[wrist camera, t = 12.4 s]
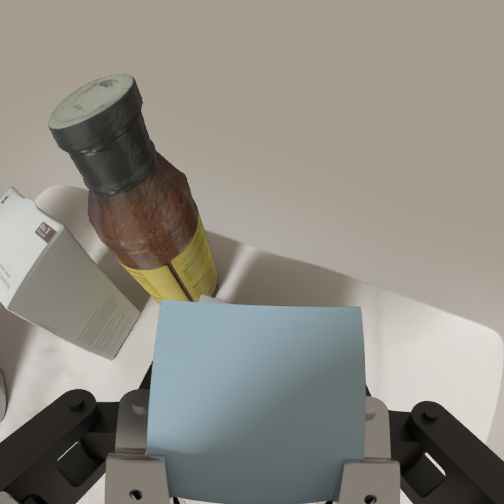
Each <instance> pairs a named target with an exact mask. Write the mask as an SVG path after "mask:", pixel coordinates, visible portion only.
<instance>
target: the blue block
mask: <svg viewBox="0 0 504 504" xmlns="http://www.w3.org/2000/svg"><path fill="white" fill-rule="evenodd" d="M365 427H366V378H365V353H364V337H363V324H362V313H361V306H360V307H300V306H261V305H237V304H218V303H202V302H188V301H175V300H163V299H162V300H161V306H160V313H159V319H158V326H157V333H156V341H155V349H154V357H153V366H152V376H151V386H150V398H149V412H148V429H147V454H165V459H166V463H167V468H168V472H169V477H170V481H171V485H172V489H173V497H178V498H184V499H190V500H197V501H204V502H213V503H223V504H304V503H315V502H323V501H331V500H333V496H332V495H333V492H334V490H335V487H336V484H337V481H338V478H339V474H340V471H341V468H342V465H343V461H344V459H364V450H365Z"/></svg>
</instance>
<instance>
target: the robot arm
mask: <svg viewBox="0 0 504 504" xmlns="http://www.w3.org/2000/svg"><path fill="white" fill-rule="evenodd" d="M152 366H153V361H152V365H150V367H149V369H148V371H147V373H146V375H145V377H144V379H143V381H142V383H141V385H140V387H139V389H137V390H133V391H130V392H128V393H126V394H125V395H124V396H123V397H122V398H121V400H120V402H96V400H95V397H94V396H93V395H92V394H91V393H90V392H88V391H86V390H82V389H75V390H70V391H68V392H66V393H64V394H63V395H62V396H60V397H59V398H58V399H56V400H55V401H54V402H52V403H51V404H50V405H49V406H47V407H46V408H45V409H43V410H42V411H41V412H40V413H38V414H37V415H36V416H34V417H33V418H32V419H30V420H29V421H28V422H27V423H25V424H24V425H23V426H21V427H20V428H19V429H17V430H16V431H15V432H14V433H12V434H11V435H10V436H8V437H7V438H6V439H5V440H3V441H2V442H1V443H0V504H76V503H77V502H78V501H79V500H80V499H81V498H82V497H83V496H84V494H85V493H86V492H87V491H88V490H89V489H90V488H91V487H92V486H93V485H94V484H95V483H96V482H97V481H98V480H99V479H100V478H101V477H102V475H103V474H104V473H105V472H106V476H105V504H186V502H185V499H184V498H178V497H173V489H172V485H171V481H170V477H169V472H168V468H167V463H166V459H165V454H147V429H148V412H149V398H150V386H151V376H152ZM5 410H6V388H5V383H4V379H3V375H2V372H1V370H0V422H1V421H2V419H3V417H4V414H5ZM76 442H78V443H77V444H75V443H76ZM74 444H75V445H74ZM73 445H74V446H73ZM72 446H73V447H72ZM71 447H72V448H71ZM69 448H71V449H70V450H69V451H68V452H67V453H66V454H65V455H63V454H64V453H65V452H66V451H67V450H68V449H69ZM426 452H427V453H428V454H429V455H430V456H431V457H432V458H433V459H434V460H435V461H436V462H437V463H438V464H439V466H440V467H441V468H442V469H443V470H444V471H445V474H446V476H445V475H443V474H442V472H441V471H440V470H439V469H438V468H437V467H436V466H435V465H434V464H433V463H432V462H431V461H430V460H429V459H428V458H427V457H426V455H425V453H426ZM62 455H63V456H62ZM61 456H62V457H61ZM60 457H61V458H60ZM59 458H60V459H59ZM58 459H59V460H58ZM57 460H58V461H57ZM400 488H401V490H402V491H403V492H404V493H405V494H406V496H407V497H408V498H409V499H410V501H411V502H412V503H413V504H504V462H503V460H501V459H500V458H499V457H498V456H497V455H496V454H495V453H494V452H493V451H492V450H490V449H489V448H488V447H487V446H486V445H485V444H484V443H483V442H482V441H480V440H479V439H478V438H477V437H476V436H475V435H474V434H473V433H472V432H470V431H469V430H468V429H467V428H466V427H465V426H464V425H463V424H462V423H460V422H459V421H458V420H457V419H456V418H455V417H454V416H453V415H451V414H450V413H449V412H448V411H447V410H446V409H445V408H444V407H442V406H441V405H440V404H438V403H435V402H431V401H423V402H420V403H418V404H416V405H415V406H414V408H413V409H412V411H411V412H400V411H391V410H388V409H387V407H386V405H385V404H384V403H383V402H382V401H381V400H379V399H377V398H374V397H371V394H370V392H369V390H368V388H367V386H366V427H365V450H364V459H344V461H343V465H342V468H341V471H340V474H339V478H338V481H337V484H336V487H335V490H334V492H333V495H332V496H333V500H331V501H323V502H316V503H315V504H400Z"/></svg>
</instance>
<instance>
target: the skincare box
mask: <svg viewBox="0 0 504 504" xmlns="http://www.w3.org/2000/svg"><path fill="white" fill-rule="evenodd" d="M0 302H1V303H2V304H3V306H4V307H5V308H6V309H7V310H8V311H10V312H12V313H14V314H16V315H17V316H19V317H21V318H23V319H24V320H26V321H28V322H30V323H32V324H34V325H36V326H38V327H40V328H42V329H44V330H45V331H47V332H49V333H51V334H53V335H54V336H56V337H58V338H60V339H62V340H64V341H66V342H68V343H71V344H73V345H75V346H77V347H79V348H82V349H84V350H86V351H89V352H91V353H94V354H96V355H98V356H101V357H103V358H106V359H108V360H113V359H114V357H115V355H116V354H117V352H118V350H119V349H120V347H121V345H122V343H123V342H124V340H125V338H126V337H127V335H128V334H129V332H130V330H131V329H132V327H133V325H134V324H135V322H136V320H137V319H138V317H139V316H140V314H141V311H140V310H138V309H137V308H136V307H135V306H134V305H133V304H132V303H131V302H130V301H129V299H128V298H127V297H126V296H125V295H124V294H123V293H122V292H121V291H120V290H119V289H118V288H117V287H116V286H115V285H114V284H113V282H112V281H111V280H110V279H109V278H108V277H107V276H106V275H105V274H104V273H103V271H102V270H101V269H100V268H99V267H98V266H97V265H96V263H95V262H94V261H93V260H92V259H91V258H90V256H89V255H88V254H87V253H86V251H85V250H84V249H83V248H82V247H81V245H80V244H79V243H78V242H77V240H76V239H75V238H74V237H73V236H72V234H71V233H70V232H69V230H68V229H67V228H66V226H65V225H64V224H62V223H60V222H59V221H57V220H56V219H54V218H53V217H51V216H50V215H48V214H47V213H45V212H44V211H42V210H41V209H40V208H38V207H37V205H36V203H35V202H34V201H33V200H31V199H26V198H25V197H23V196H22V195H20V194H19V193H18V191H17V190H16V189H15V188H14V187H11V188H9V190H8V191H7V192H6V193H5V195H4V196H3V197H2V198H1V200H0Z"/></svg>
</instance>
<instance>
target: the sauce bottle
mask: <svg viewBox="0 0 504 504" xmlns="http://www.w3.org/2000/svg"><path fill="white" fill-rule="evenodd" d="M142 103H143V102H142V97H141V95H140V92H139V89H138V87H137V84H136V82H135V79H134V78H133V77H132V76H130V75H127V74H116V75H111V76H108V77H104V78H100V79H97V80H94V81H92V82H89V83H87V84H86V85H84V86H82V87H80V88H79V89H77V90H76V91H74V92H73V93H72V94H70V95H69V96H68V97H67V98H65V99H64V100H63V101H62V102H61V103H60V104H59V105H58V106H57V107H56V108H55V110H54V111H53V112H52V114H51V116H50V118H49V122H48V126H49V129H50V131H51V132H52V135H53V137H54V139H55V140H56V142H57V144H58V146H59V147H60V148H61V149H62V150H64V151H66V152H68V153H69V155H70V157H71V159H72V160H73V162H74V163H75V165H76V167H77V168H78V170H79V172H80V174H81V175H82V176H83V180H84V183H85V185H86V186H87V188H88V189H89V199H88V216H89V220H90V222H91V224H92V226H93V228H94V229H95V231H96V232H97V234H98V236H99V238H100V239H101V241H102V242H103V243H105V245H106V246H107V247H108V248H109V249H110V250H111V252H112V254H113V255H114V257H115V258H116V259H117V261H118V262H119V263H120V264H121V265H122V266H123V267H124V268H125V269H126V270H127V271H128V272H129V273H130V274H131V275H132V276H133V277H134V278H135V279H136V281H137V282H138V283H139V284H140V285H141V286H142V287H143V288H144V289H145V290H146V291H147V292H148V293H149V294H150V295H151V296H152V297H153V298H154V299H155V300H156V301H157V302H158V303H159V304H160V305H161V300H162V299H163V300H175V301H188V302H198V301H199V298H200V296H201V294H202V295H205V296H208V297H211V298H213V297H214V296H215V294H216V292H217V288H218V281H217V280H218V279H217V269H216V266H215V263H214V260H213V257H212V253H211V250H210V246H209V243H208V240H207V237H206V234H205V230H204V227H203V224H202V221H201V218H200V215H199V212H198V208H197V206H196V203H195V202H194V200H193V198H192V195H191V192H190V188H189V185H188V182H187V178H186V176H185V175H184V174H183V173H182V172H180V171H179V170H178V169H176V168H175V167H174V166H173V165H172V164H171V163H169V162H168V161H167V160H166V159H165V158H164V157H163V156H161V155H160V154H159V153H158V152H157V151H156V150H155V146H154V144H153V142H152V141H151V140H150V139H149V135H148V132H147V129H146V126H145V124H144V119H143V116H142V113H141V107H142Z"/></svg>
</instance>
